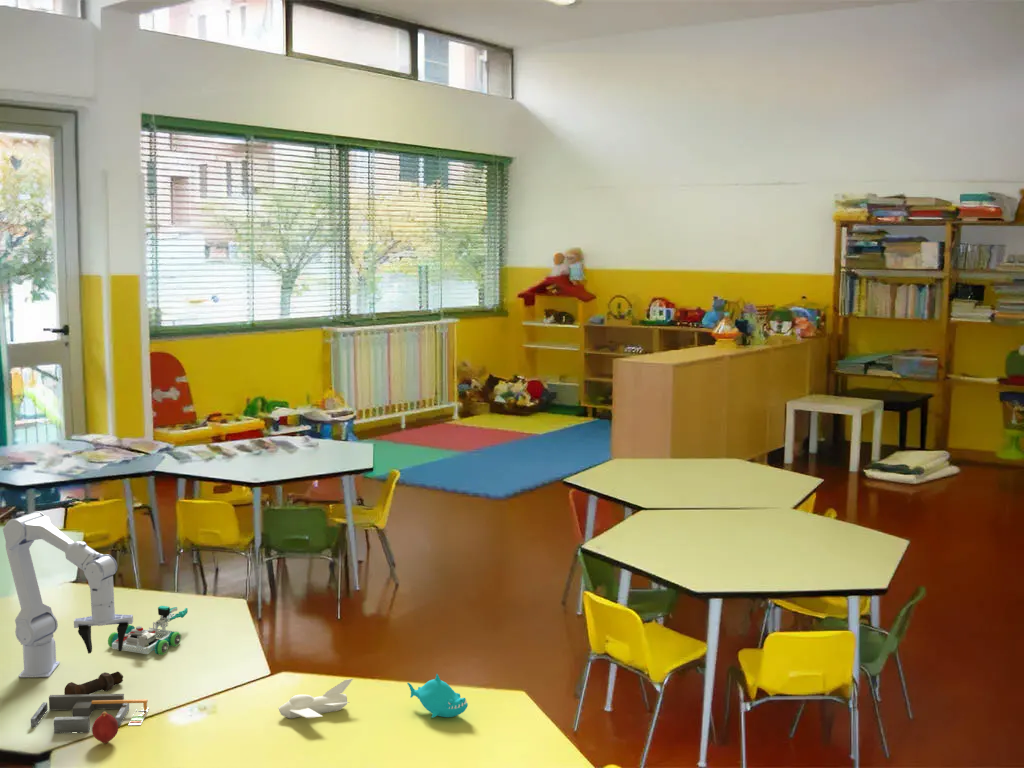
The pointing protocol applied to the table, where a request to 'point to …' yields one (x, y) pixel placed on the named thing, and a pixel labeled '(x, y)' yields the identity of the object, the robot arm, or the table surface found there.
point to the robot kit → (151, 634)
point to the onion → (105, 728)
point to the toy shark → (439, 698)
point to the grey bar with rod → (89, 703)
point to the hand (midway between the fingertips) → (105, 650)
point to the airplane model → (316, 703)
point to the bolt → (95, 684)
